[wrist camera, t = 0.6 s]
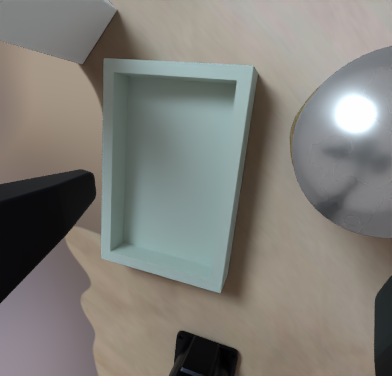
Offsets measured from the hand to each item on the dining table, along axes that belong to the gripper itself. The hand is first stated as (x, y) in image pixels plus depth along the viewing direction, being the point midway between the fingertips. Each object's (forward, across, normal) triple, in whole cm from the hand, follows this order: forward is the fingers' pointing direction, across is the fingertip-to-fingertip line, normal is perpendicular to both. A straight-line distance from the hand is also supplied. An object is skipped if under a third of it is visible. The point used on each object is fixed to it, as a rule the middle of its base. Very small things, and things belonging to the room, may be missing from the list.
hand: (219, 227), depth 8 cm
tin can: (+16, -4, +1) cm, 17 cm away
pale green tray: (+14, +7, +8) cm, 18 cm away
